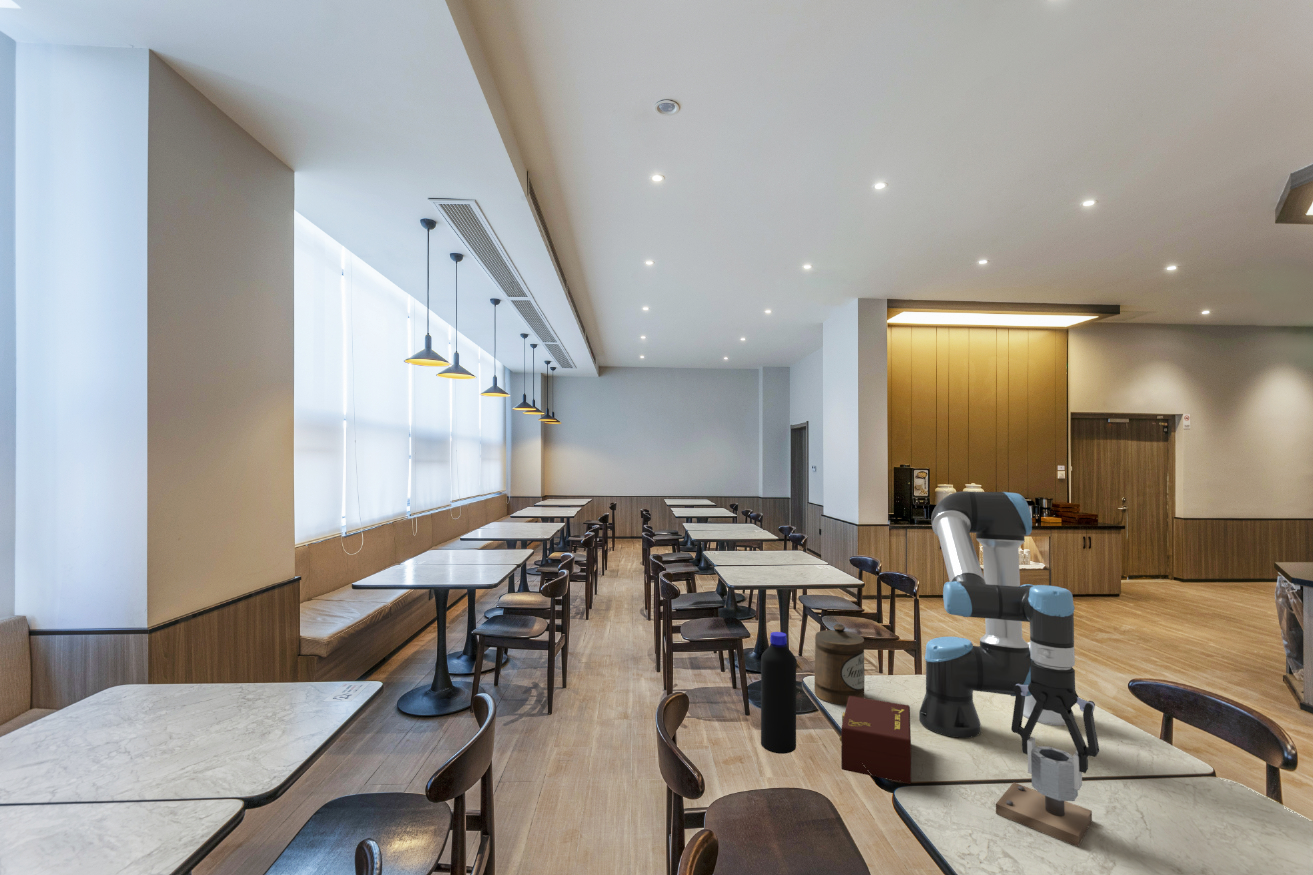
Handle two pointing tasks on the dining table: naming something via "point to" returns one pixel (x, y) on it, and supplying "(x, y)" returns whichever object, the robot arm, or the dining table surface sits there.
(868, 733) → the box
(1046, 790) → the hub
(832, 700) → the wooden container
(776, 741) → the bottle
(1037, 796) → the shaft block
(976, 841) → the dining table surface
